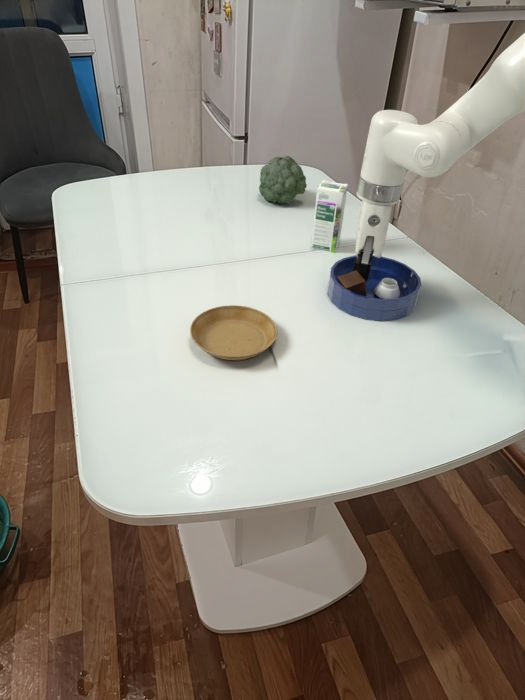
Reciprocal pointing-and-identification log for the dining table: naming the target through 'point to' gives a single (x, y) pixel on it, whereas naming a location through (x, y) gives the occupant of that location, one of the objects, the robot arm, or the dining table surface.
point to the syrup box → (328, 216)
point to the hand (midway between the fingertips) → (359, 278)
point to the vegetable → (281, 180)
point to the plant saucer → (233, 332)
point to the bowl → (373, 304)
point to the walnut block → (353, 283)
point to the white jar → (387, 289)
